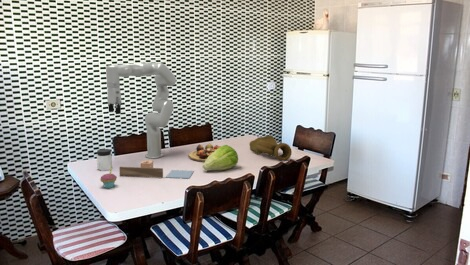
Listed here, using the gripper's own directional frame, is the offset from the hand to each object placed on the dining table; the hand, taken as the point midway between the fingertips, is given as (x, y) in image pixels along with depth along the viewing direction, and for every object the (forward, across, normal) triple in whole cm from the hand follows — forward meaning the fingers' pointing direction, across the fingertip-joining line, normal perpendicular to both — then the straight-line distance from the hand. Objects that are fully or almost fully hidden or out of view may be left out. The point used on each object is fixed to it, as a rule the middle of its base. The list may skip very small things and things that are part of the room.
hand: (114, 112), depth 236 cm
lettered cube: (+35, -20, -10) cm, 42 cm away
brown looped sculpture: (+35, -46, -95) cm, 111 cm away
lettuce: (+35, -46, -48) cm, 75 cm away
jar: (+36, +1, +8) cm, 36 cm away
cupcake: (+36, -31, +20) cm, 51 cm away
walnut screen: (+35, -28, -2) cm, 45 cm away
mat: (+35, -40, -22) cm, 57 cm away
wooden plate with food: (+36, -19, -62) cm, 74 cm away
